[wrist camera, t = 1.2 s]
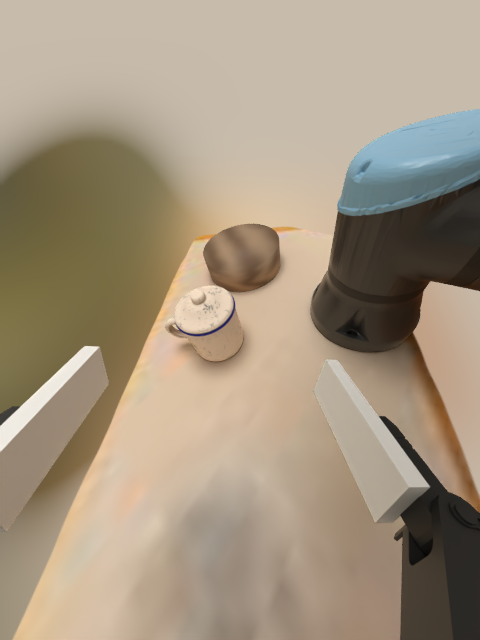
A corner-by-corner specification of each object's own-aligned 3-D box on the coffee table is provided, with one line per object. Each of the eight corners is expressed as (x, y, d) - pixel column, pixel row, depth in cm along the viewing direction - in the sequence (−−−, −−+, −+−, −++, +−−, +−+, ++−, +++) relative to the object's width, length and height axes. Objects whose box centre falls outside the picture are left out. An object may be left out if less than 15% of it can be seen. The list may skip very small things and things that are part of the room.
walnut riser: (266, 239, 53) (263, 216, 48) (291, 277, 43) (292, 252, 38) (206, 259, 53) (198, 238, 48) (218, 301, 43) (209, 280, 38)
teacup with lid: (244, 316, 39) (230, 266, 30) (246, 360, 33) (229, 316, 24) (184, 324, 40) (153, 279, 31) (175, 367, 35) (135, 328, 26)
